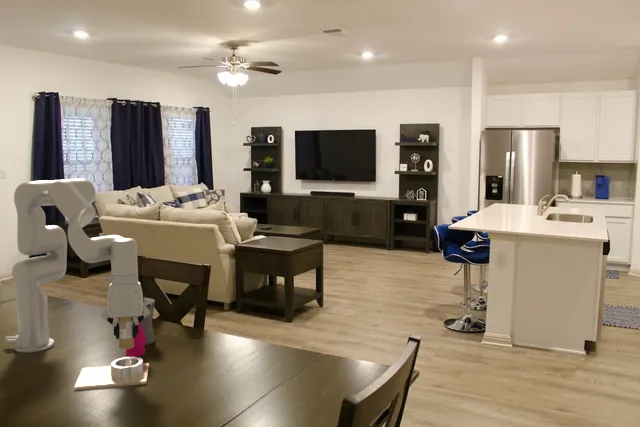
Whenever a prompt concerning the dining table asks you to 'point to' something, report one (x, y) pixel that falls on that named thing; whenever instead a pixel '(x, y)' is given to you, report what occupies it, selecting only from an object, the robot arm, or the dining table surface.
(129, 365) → the white ring holder board
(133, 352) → the pepper mill
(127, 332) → the sprinkles bottle
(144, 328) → the coffeepot
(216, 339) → the dining table surface
